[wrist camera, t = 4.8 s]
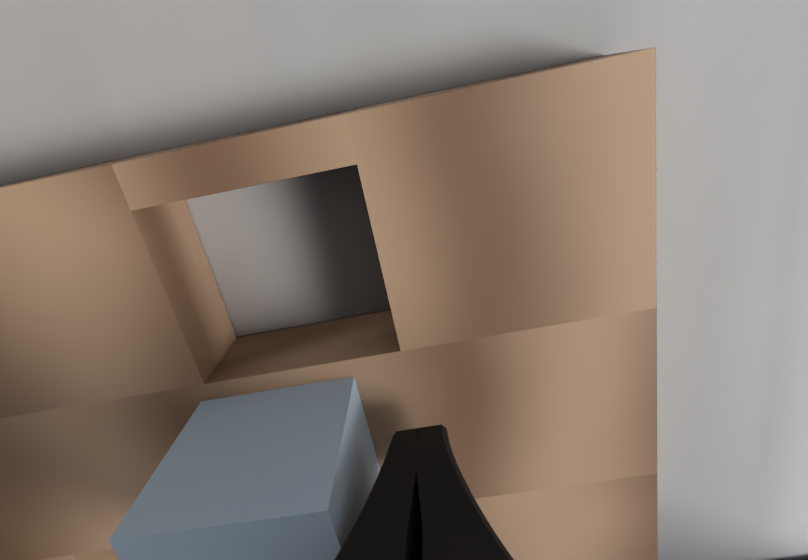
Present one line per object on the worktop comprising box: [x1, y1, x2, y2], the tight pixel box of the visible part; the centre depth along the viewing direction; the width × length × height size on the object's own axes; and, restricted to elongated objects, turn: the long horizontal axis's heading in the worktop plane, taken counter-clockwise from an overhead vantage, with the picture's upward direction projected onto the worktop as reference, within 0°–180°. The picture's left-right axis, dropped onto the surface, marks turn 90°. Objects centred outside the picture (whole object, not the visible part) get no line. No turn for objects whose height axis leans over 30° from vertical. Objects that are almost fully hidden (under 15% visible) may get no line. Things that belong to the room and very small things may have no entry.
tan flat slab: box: [0, 47, 657, 560], centre depth 13 cm, size 22×16×4 cm
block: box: [108, 377, 380, 560], centre depth 11 cm, size 4×4×4 cm
